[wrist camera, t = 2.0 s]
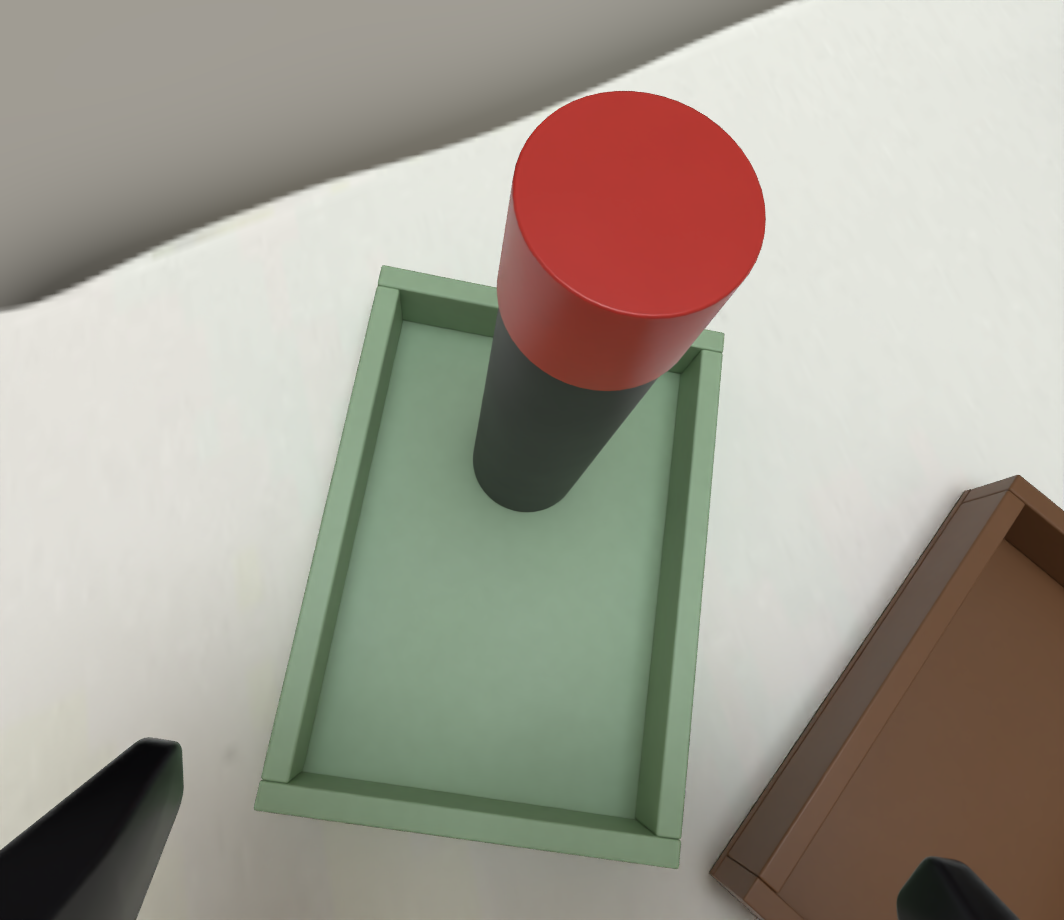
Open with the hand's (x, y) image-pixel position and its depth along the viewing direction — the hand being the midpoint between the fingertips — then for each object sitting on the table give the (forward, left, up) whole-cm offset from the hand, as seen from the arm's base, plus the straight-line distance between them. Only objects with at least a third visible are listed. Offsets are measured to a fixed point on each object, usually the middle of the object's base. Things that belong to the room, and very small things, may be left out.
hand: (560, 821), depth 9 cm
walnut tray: (+14, -6, -13) cm, 21 cm away
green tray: (+2, +5, -13) cm, 14 cm away
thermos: (+3, +7, -13) cm, 15 cm away
